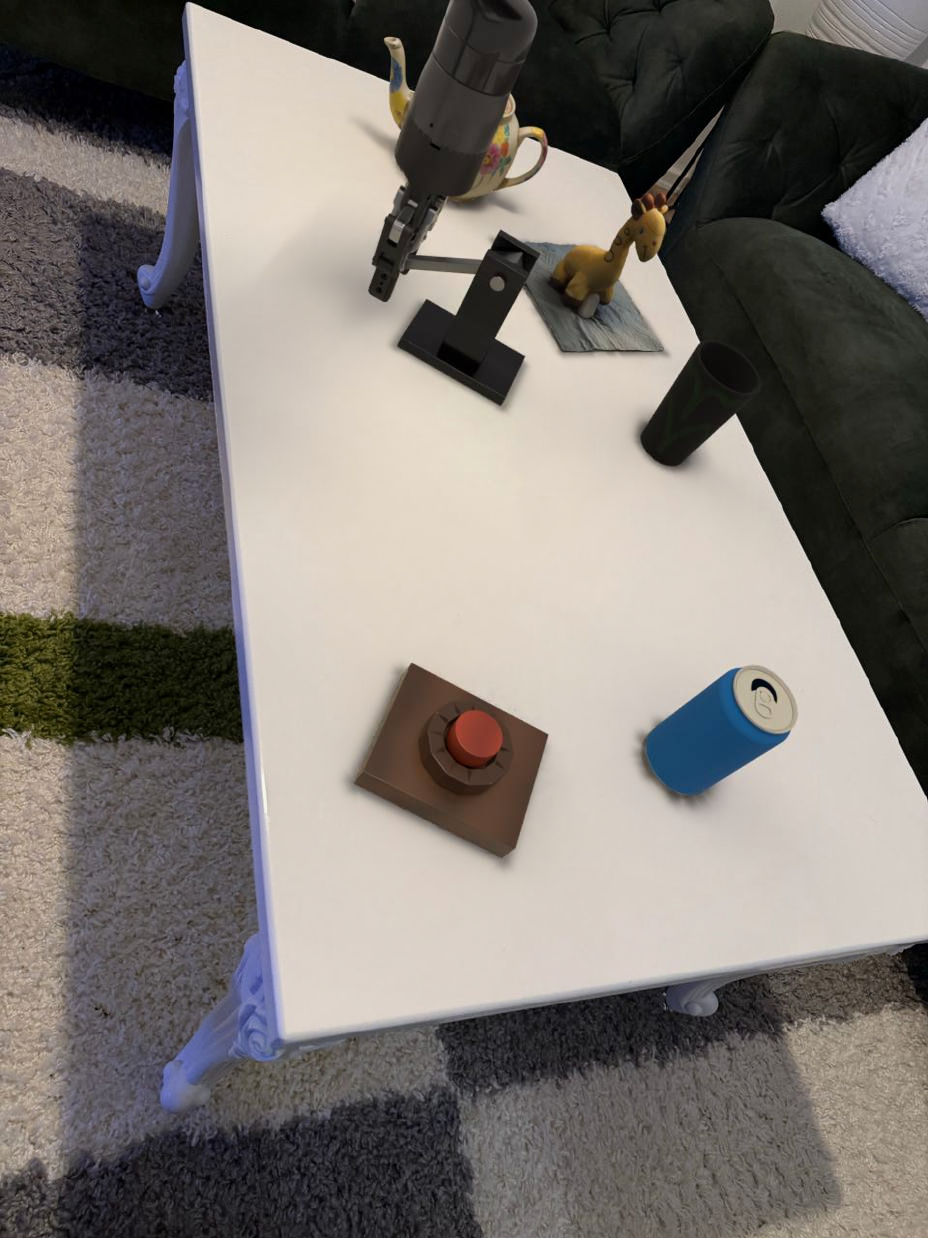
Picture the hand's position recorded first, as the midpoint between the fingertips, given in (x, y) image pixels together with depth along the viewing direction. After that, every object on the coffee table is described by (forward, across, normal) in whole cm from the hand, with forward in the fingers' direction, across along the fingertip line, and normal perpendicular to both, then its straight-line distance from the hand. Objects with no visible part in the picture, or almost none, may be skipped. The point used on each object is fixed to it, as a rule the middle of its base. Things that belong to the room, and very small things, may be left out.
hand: (388, 282), depth 88 cm
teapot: (+3, -29, -3) cm, 29 cm away
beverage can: (+4, +34, +42) cm, 54 cm away
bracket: (+3, 0, +10) cm, 10 cm away
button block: (+3, +44, +24) cm, 50 cm away
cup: (+3, -4, +34) cm, 34 cm away
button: (0, +44, +24) cm, 50 cm away
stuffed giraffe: (+3, -22, +19) cm, 29 cm away
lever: (-4, 0, +6) cm, 7 cm away
